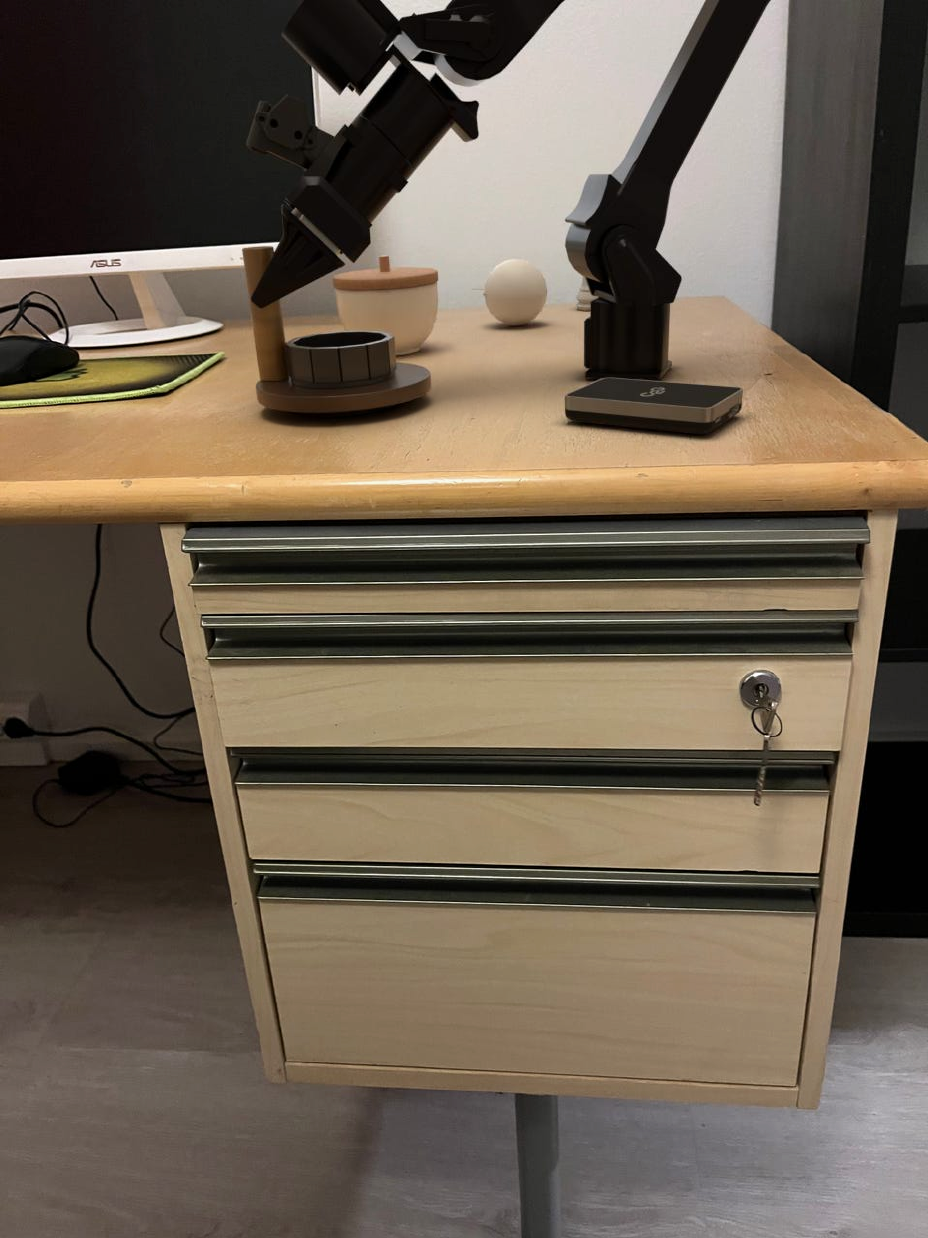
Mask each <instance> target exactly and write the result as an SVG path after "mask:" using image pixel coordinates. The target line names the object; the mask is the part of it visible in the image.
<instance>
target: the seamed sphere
mask: <svg viewBox="0 0 928 1238" xmlns="http://www.w3.org/2000/svg"><path fill="white" fill-rule="evenodd" d="M471 290H472V291H473V290H474V291H475V290H476V291H477V290H478V291H479V290H481V291H483V296H484V301H485V305H486V308H487V309H488V311H489V313H490V315H492V317H494V318H495V319H496V320H497V321H498V322H500V323H503V324H505V325H506V326H522V325H526V324H528V323H530V322H532V321H534V320H535V319H536V318H537V317H538V316H539V314H541V313H542V311H543V309H544V307H545V305H546V303H547V297H548V287H547V282H546V279H545V277H544V275H543V273H542V271H541V270H540V269H539V268H538V267H537V266H536V265H535V264H534V263H532V262H530V261H527V260H526V259H522V258H521V259H520V258H512V259H507V260H504V261H502V262H500V263H499V264H497V265H496V266H495V267H494V268H492V270H491V271H490V272H489V274H488V276H487V277H486V281H485V283H484V288H471Z"/></svg>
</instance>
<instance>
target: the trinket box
mask: <svg viewBox="0 0 928 1238" xmlns="http://www.w3.org/2000/svg"><path fill="white" fill-rule="evenodd" d="M378 264H379V268H368V269H360V270H353V271H345V272H341V273H338V274H336V275H333V276H332V285H333V288H334V294H335V302H336V309H337V313H338V317H339V320H340V322H341V326H342V328H343V331H379V332H387V333H389V334H391V335H394V340H395V352H396V356H404V355H409V354H414V353H417V352H419V351H420V350H421V346H422V345H423V344H424V343H425V341H427V339H428V338H429V337H430V335H431V333H432V332H433V330H434V327H435V324H436V321H437V316H438V307H439V289H438V281H439V271H438V269H435V268H433V267H418V266H417V267H414V266H413V267H411V266H405V267H404V266H403V267H398V266H397V267H391V266H390V265H391V264H390V255H379V256H378Z"/></svg>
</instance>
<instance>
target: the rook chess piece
mask: <svg viewBox="0 0 928 1238" xmlns="http://www.w3.org/2000/svg"><path fill="white" fill-rule="evenodd" d="M596 298H598V297H597V296H592V295H591V293H590V291H589V288H588V285H587V282H586V279H585V277H584V276H582V281H581V285H580V287H579V291H578V292H577V294H576V297H575V299H576V300H577V301H578V302H577V303H575V307H576V308H577V310H578V311H583V312H584V311H585V312H588V311H589V312H590V302H591V301H593V300H595V299H596Z"/></svg>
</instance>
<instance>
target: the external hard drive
mask: <svg viewBox="0 0 928 1238" xmlns="http://www.w3.org/2000/svg"><path fill="white" fill-rule="evenodd" d="M743 397H744V388H743V387H740V386H729V385H715V384H702V383H691V382H690V383H688V382H677V381H676V382H675V381H663V380H661V381H660V380H638V379H622V378H602V379H597V380H595V381H593V382H590V383H588V384H586V385H584V386H581V387H579V388H577V389H574V390H572V391H569V392H568V393H565V394H564V416H565V417H566V419H567V420H569V421H571V422H578V423H583V424H595V425H596V424H598V425H608V426H617V427H626V428H635V429H636V428H637V429H644V430H645V429H646V430H655V431H665V432H666V431H667V432H676V433H685V434H686V433H687V434H689V435H706V434H708V433H711V432H712V431H713V430H714V429H716V428H717V427H719V426H721V425H723V424H724V423H725V422H727V421H728V420H730V419H732V418H733V417H735V416H736V415H737V414H739V412H741V410H742V407H743Z"/></svg>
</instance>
